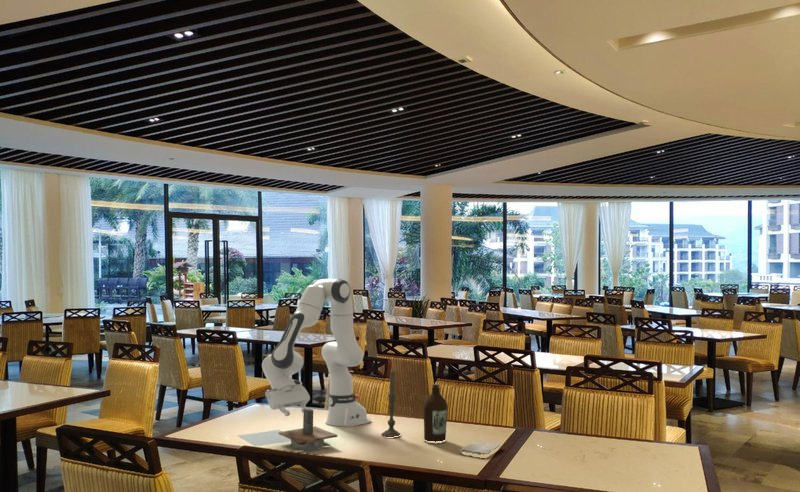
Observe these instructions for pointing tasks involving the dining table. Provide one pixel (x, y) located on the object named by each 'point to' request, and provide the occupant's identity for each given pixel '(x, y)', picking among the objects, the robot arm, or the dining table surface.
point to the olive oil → (435, 416)
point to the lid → (307, 430)
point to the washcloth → (480, 448)
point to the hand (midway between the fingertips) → (296, 413)
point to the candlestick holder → (391, 408)
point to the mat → (264, 438)
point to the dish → (308, 445)
